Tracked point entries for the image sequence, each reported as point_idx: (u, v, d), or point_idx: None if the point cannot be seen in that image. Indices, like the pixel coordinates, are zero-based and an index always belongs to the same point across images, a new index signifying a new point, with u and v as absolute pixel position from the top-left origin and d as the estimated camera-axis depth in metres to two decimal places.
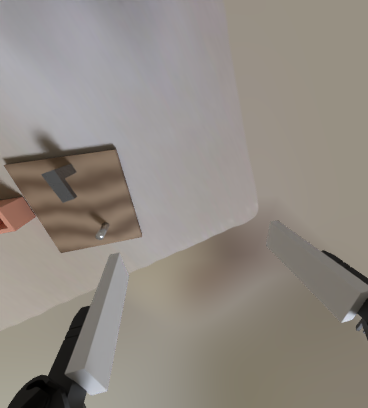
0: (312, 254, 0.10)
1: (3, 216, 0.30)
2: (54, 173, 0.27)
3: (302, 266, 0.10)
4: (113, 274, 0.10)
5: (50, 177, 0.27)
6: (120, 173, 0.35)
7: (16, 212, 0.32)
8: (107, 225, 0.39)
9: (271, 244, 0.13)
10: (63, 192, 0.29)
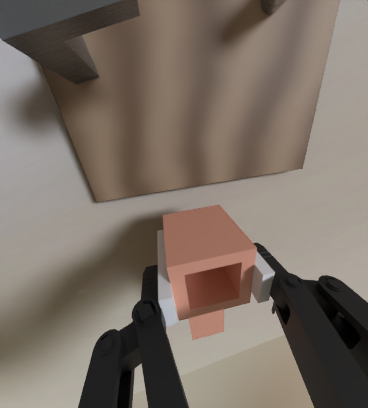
0: None
1: (198, 263, 0.09)
2: None
3: None
4: None
5: None
6: None
7: (196, 232, 0.11)
8: None
9: None
10: None
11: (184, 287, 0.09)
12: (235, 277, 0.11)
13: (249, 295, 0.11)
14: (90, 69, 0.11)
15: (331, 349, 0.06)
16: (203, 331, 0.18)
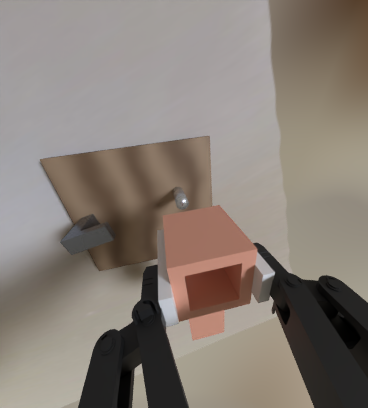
0: None
1: (198, 264, 0.09)
2: (65, 242, 0.19)
3: None
4: None
5: (73, 246, 0.20)
6: (81, 156, 0.21)
7: (196, 232, 0.11)
8: (175, 189, 0.24)
9: None
10: (95, 237, 0.20)
11: (184, 288, 0.09)
12: (235, 277, 0.11)
13: (249, 296, 0.11)
14: None
15: (331, 349, 0.06)
16: (204, 332, 0.18)
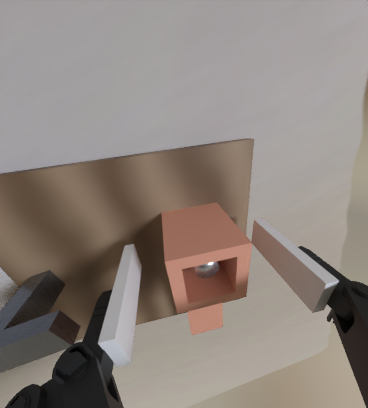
0: (288, 249, 0.10)
1: (195, 257, 0.09)
2: None
3: (281, 261, 0.11)
4: (130, 262, 0.11)
5: None
6: (11, 179, 0.11)
7: (193, 228, 0.11)
8: None
9: (255, 241, 0.14)
10: (32, 347, 0.10)
11: (182, 281, 0.10)
12: (231, 271, 0.11)
13: (245, 289, 0.11)
14: (55, 299, 0.14)
15: None
16: (202, 326, 0.18)
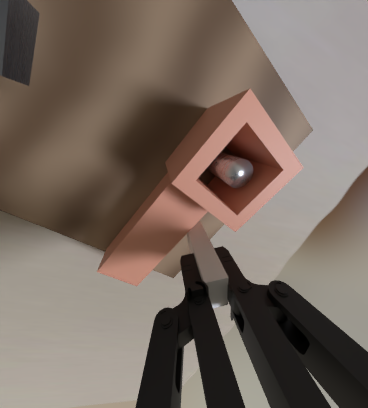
0: (204, 249, 0.11)
1: (268, 123, 0.07)
2: None
3: None
4: (197, 234, 0.13)
5: None
6: None
7: None
8: None
9: None
10: None
11: (228, 139, 0.07)
12: (247, 194, 0.10)
13: (244, 221, 0.10)
14: None
15: (280, 354, 0.06)
16: (120, 268, 0.13)
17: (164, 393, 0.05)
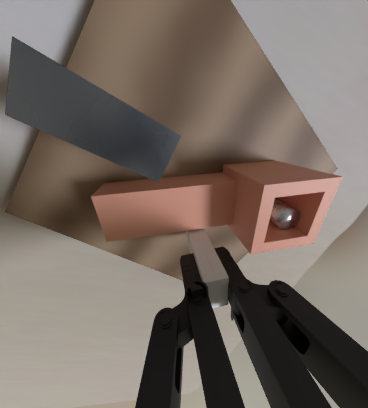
0: (204, 249, 0.11)
1: (329, 203, 0.10)
2: (33, 59, 0.05)
3: None
4: (197, 234, 0.13)
5: (42, 99, 0.05)
6: None
7: None
8: None
9: None
10: (132, 137, 0.06)
11: (311, 191, 0.10)
12: (274, 234, 0.12)
13: (261, 251, 0.11)
14: None
15: (280, 354, 0.06)
16: (115, 213, 0.11)
17: (164, 393, 0.05)
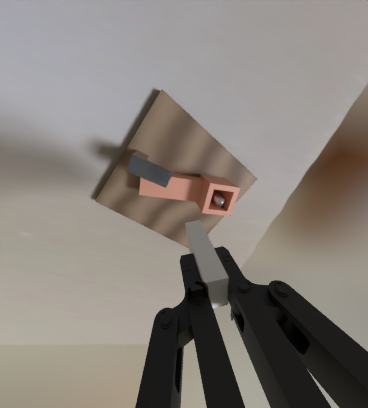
0: (204, 249, 0.11)
1: (235, 197, 0.25)
2: (135, 158, 0.20)
3: None
4: (197, 234, 0.13)
5: (135, 166, 0.21)
6: (187, 116, 0.24)
7: None
8: (215, 191, 0.30)
9: None
10: (158, 174, 0.21)
11: (228, 190, 0.25)
12: (214, 208, 0.26)
13: (207, 213, 0.26)
14: None
15: (280, 353, 0.06)
16: (148, 182, 0.25)
17: (164, 393, 0.05)
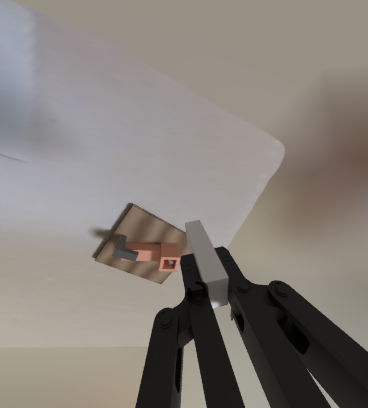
0: (204, 249, 0.11)
1: (178, 262, 0.43)
2: (116, 250, 0.37)
3: None
4: (197, 234, 0.13)
5: (117, 253, 0.38)
6: (149, 216, 0.42)
7: None
8: None
9: None
10: (130, 256, 0.39)
11: (173, 259, 0.42)
12: (166, 267, 0.44)
13: None
14: None
15: (280, 353, 0.06)
16: None
17: (164, 393, 0.05)
